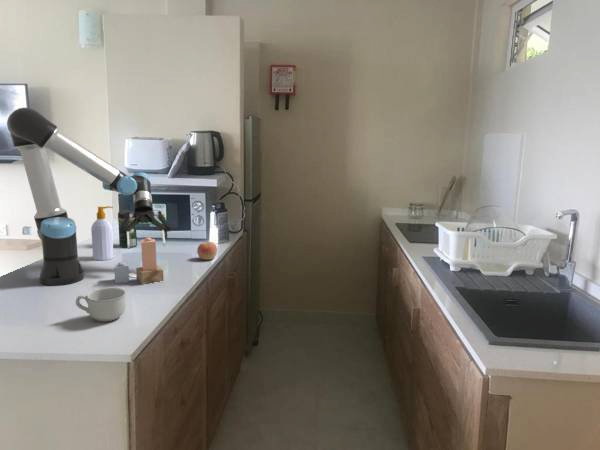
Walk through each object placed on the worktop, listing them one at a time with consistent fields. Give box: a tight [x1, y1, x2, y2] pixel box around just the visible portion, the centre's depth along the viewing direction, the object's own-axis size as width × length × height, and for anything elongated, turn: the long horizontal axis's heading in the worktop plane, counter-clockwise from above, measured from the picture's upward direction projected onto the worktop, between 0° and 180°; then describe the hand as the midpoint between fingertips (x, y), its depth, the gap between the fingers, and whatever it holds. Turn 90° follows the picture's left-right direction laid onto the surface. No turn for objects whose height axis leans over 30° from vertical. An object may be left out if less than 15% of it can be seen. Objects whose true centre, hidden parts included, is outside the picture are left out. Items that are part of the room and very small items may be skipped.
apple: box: [196, 241, 218, 261], centre depth 209 cm, size 9×9×8 cm
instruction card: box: [129, 271, 137, 278], centre depth 184 cm, size 8×6×1 cm
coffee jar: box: [117, 209, 138, 249], centre depth 232 cm, size 10×8×19 cm
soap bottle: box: [90, 205, 114, 261], centre depth 206 cm, size 9×9×24 cm
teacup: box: [75, 287, 127, 323], centre depth 137 cm, size 14×11×8 cm
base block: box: [135, 265, 165, 286], centre depth 176 cm, size 8×8×5 cm
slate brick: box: [113, 261, 130, 284], centre depth 175 cm, size 5×5×7 cm
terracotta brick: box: [140, 237, 157, 271], centre depth 174 cm, size 5×5×12 cm
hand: (146, 245), depth 183 cm, fingers open, 13 cm apart
